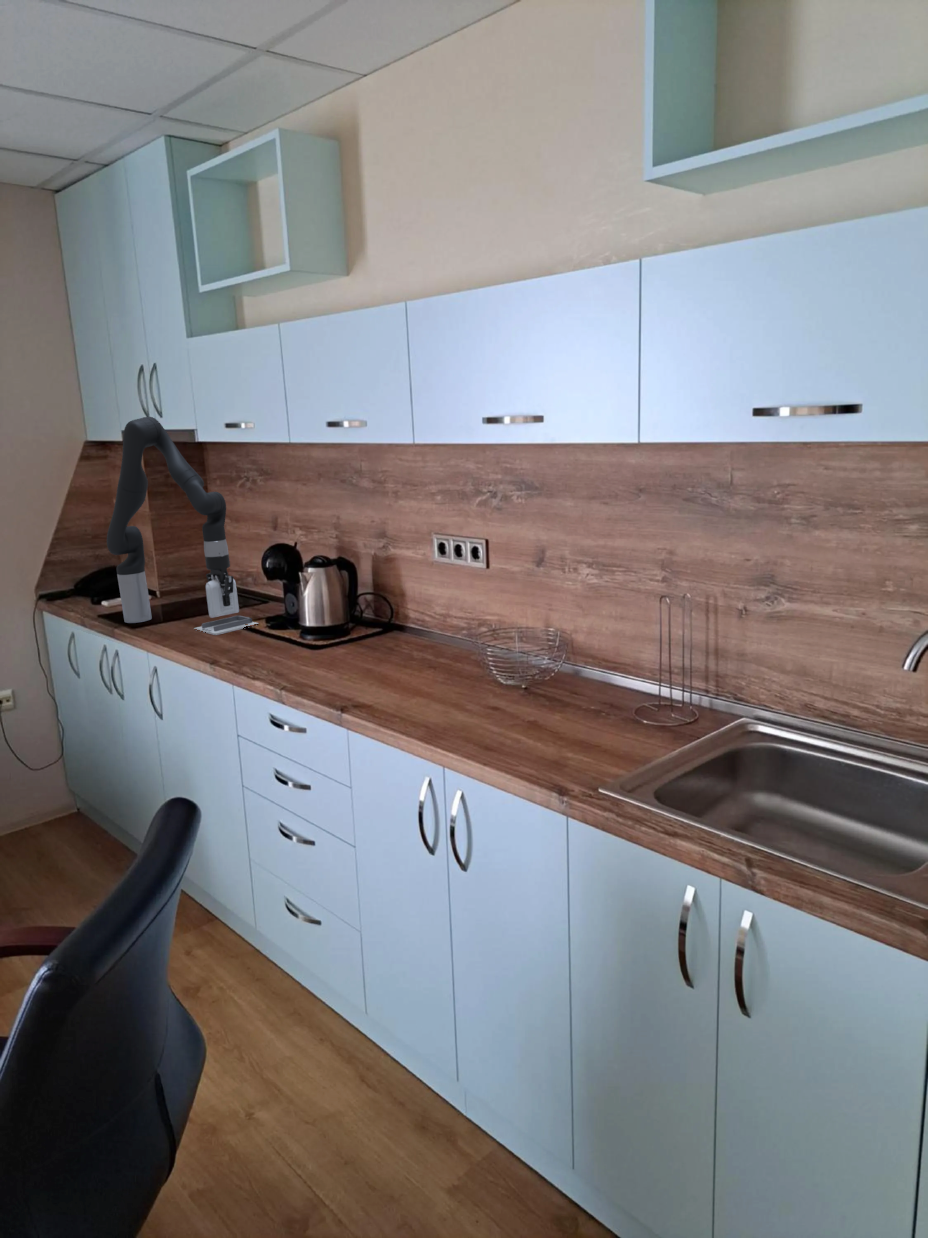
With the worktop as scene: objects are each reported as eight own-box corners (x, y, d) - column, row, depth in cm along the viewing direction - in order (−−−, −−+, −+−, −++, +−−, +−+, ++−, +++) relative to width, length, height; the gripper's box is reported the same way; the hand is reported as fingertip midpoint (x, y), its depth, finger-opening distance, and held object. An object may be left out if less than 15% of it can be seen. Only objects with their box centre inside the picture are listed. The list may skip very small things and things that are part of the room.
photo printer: (235, 611, 302) (230, 574, 299) (241, 612, 299) (236, 575, 296) (207, 617, 295) (202, 580, 293) (213, 618, 292) (208, 581, 290)
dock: (194, 629, 298) (193, 623, 297) (236, 619, 309) (235, 613, 308) (215, 635, 288) (214, 628, 288) (258, 624, 299) (257, 618, 298)
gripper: (195, 554, 295) (202, 605, 299) (217, 557, 285) (224, 609, 289) (215, 550, 300) (222, 600, 304) (238, 553, 290) (244, 605, 294)
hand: (223, 604), depth 296 cm, fingers closed on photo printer, 4 cm apart
